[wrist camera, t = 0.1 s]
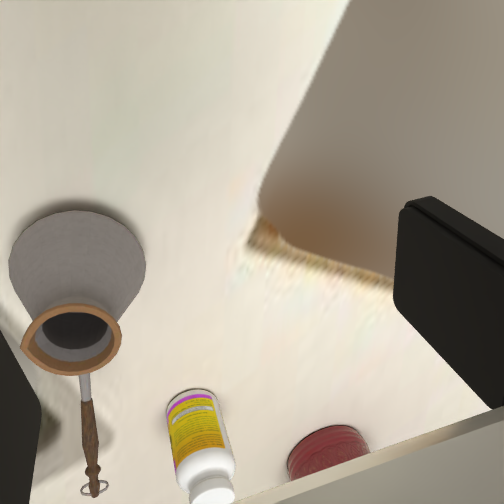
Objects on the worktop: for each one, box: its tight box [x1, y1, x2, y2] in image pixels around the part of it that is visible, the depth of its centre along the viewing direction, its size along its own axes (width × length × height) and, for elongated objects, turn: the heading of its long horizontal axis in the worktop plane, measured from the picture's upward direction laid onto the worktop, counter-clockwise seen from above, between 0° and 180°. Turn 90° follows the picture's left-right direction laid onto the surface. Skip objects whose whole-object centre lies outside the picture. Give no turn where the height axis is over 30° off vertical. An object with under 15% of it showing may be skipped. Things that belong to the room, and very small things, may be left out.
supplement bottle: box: [166, 390, 236, 504], centre depth 51 cm, size 7×7×13 cm
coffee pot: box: [9, 210, 146, 498], centre depth 38 cm, size 21×12×15 cm, turn 175°
